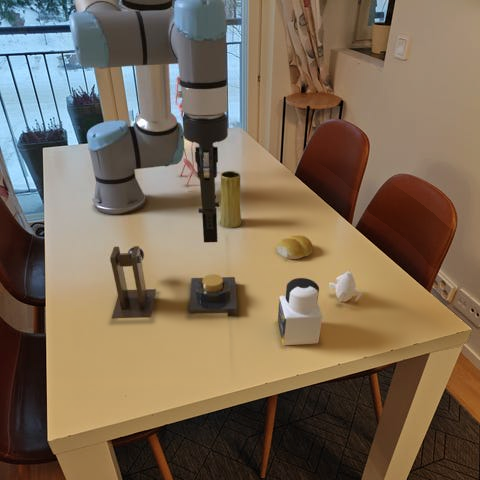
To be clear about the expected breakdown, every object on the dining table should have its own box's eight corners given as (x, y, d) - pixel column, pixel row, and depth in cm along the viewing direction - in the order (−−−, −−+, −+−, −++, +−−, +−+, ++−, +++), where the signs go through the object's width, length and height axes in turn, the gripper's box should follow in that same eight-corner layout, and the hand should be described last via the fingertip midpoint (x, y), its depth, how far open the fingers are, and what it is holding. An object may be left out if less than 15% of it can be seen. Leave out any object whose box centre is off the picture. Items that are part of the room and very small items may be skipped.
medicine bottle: (277, 322, 90) (281, 274, 82) (310, 321, 90) (317, 272, 83) (282, 346, 84) (287, 296, 77) (318, 344, 85) (326, 294, 77)
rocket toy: (327, 294, 98) (331, 264, 93) (349, 290, 99) (354, 261, 94) (337, 308, 94) (342, 277, 89) (360, 304, 95) (366, 274, 90)
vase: (239, 228, 122) (239, 179, 113) (218, 226, 123) (216, 177, 114) (243, 219, 127) (243, 171, 118) (223, 217, 128) (222, 169, 119)
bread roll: (318, 253, 112) (320, 239, 109) (290, 263, 108) (292, 249, 105) (297, 240, 117) (299, 226, 115) (271, 249, 113) (272, 235, 111)
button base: (192, 285, 100) (190, 270, 98) (234, 284, 101) (234, 269, 98) (189, 317, 91) (188, 302, 89) (236, 316, 92) (236, 301, 89)
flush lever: (129, 262, 98) (128, 246, 97) (145, 262, 98) (144, 246, 97) (116, 269, 85) (114, 251, 84) (134, 269, 85) (133, 251, 85)
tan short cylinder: (202, 281, 95) (202, 274, 94) (222, 280, 96) (222, 274, 94) (202, 292, 92) (202, 286, 91) (223, 292, 92) (223, 285, 91)
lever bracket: (120, 294, 98) (109, 239, 89) (156, 293, 98) (148, 239, 89) (112, 322, 90) (99, 265, 81) (151, 321, 90) (141, 265, 81)
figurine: (189, 196, 139) (180, 72, 117) (172, 168, 158) (162, 58, 136) (234, 189, 143) (234, 69, 121) (213, 163, 162) (209, 55, 140)
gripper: (184, 104, 77) (193, 226, 91) (179, 124, 66) (190, 257, 81) (226, 103, 77) (228, 225, 92) (228, 123, 67) (230, 256, 81)
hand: (210, 240), depth 86 cm, fingers closed
